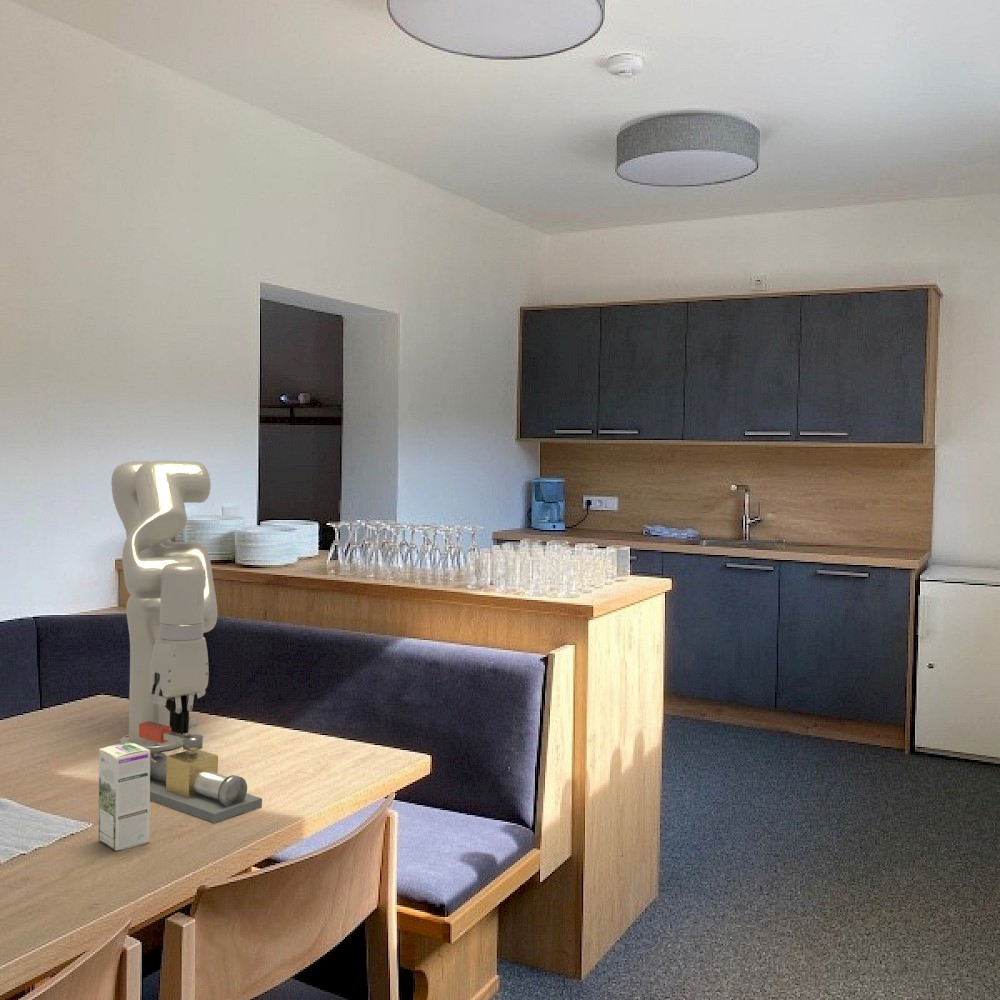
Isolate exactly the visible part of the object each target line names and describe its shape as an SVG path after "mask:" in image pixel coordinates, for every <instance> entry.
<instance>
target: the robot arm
mask: <svg viewBox="0 0 1000 1000" xmlns="http://www.w3.org/2000/svg"><path fill="white" fill-rule="evenodd" d="M211 487H212V486H211V478H210V473H209V471H208V469H207V468H206V466H205V465H204V464H203V463H202V462H198V461H183V460H180V461H179V460H177V461H176V460H153V461H151V460H150V461H149V460H147V461H146V460H145V461H144V460H141V461H140V460H137V461H135V460H134V461H129V462H124V463H121V464H119V465H117V466H116V467H115V468H114V470H113V472H112V475H111V495H112V499H113V504H114V507H115V510H116V513H117V515H118V516H119V519H120V521H121V523H122V525H123V527H124V530H125V534H126V539H125V541H124V544H123V548H122V555H121V556H122V557H121V559H122V560H121V561H122V569H123V577H124V578H123V579H124V584H125V588H126V589H127V592H128V594H129V595H130V596H129V597H128V599H127V601H126V607H125V608H126V610H125V611H126V612H125V613H126V620H127V625H128V626H127V628H128V634H129V635H128V636H129V650H130V651H129V656H130V657H129V658H130V659H129V697H128V698H129V704H128V734H126V735H124V736H122V737H121V738H120V739H119V741H120V742H119V744H122V743H131V742H133V743H135V744H137V745H139V746H142V747H144V748H146V749H148V750H150V752H152V751H158V752H164V751H170V750H174V749H178V748H180V747H183V745H180V744H177V743H173V742H170V741H167V742H163V743H158V742H155V741H151V740H148V739H144V738H141V737H139V723H144V722H148V721H151V722H155V723H158V724H162V725H166V726H170V727H171V731H173V732H176V733H180V734H184V735H186V734H188V733H189V729H191V728H196V727H197V726H198V725H199V721H198V719H197V717H191V718H190V711H192V710H193V708H194V707H193V706H194V704H195V703H196V701H197V699H199V698H202V697H204V696H206V692H207V691H206V689H207V688H208V684H209V670H210V669H209V656H208V655H209V654H208V647H207V641H206V637H205V636H204V633H209V632H210V631H211V630H213V629H214V628H215V626H216V625H217V624H216V623H217V621H218V603H217V595H216V590H215V582H214V577H213V576H214V575H213V569H212V562H211V557H210V554H209V551H208V550H207V548H206V547H205V546H204V545H202V544H200V543H198V542H188V541H187V542H186V541H185V542H184V541H183V542H179V541H178V542H176V541H172V540H171V539H173V538H175V537H176V536H178V535H180V534H181V533H182V532H183V531H184V529H185V528H186V526H187V523H188V516H187V510H186V506H185V503H187V504H188V503H190V504H191V503H195V504H196V503H198V504H200V503H202V504H203V503H204V502H205V501H206V500H207V499H208V498H209V495H210V492H211Z"/></svg>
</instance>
